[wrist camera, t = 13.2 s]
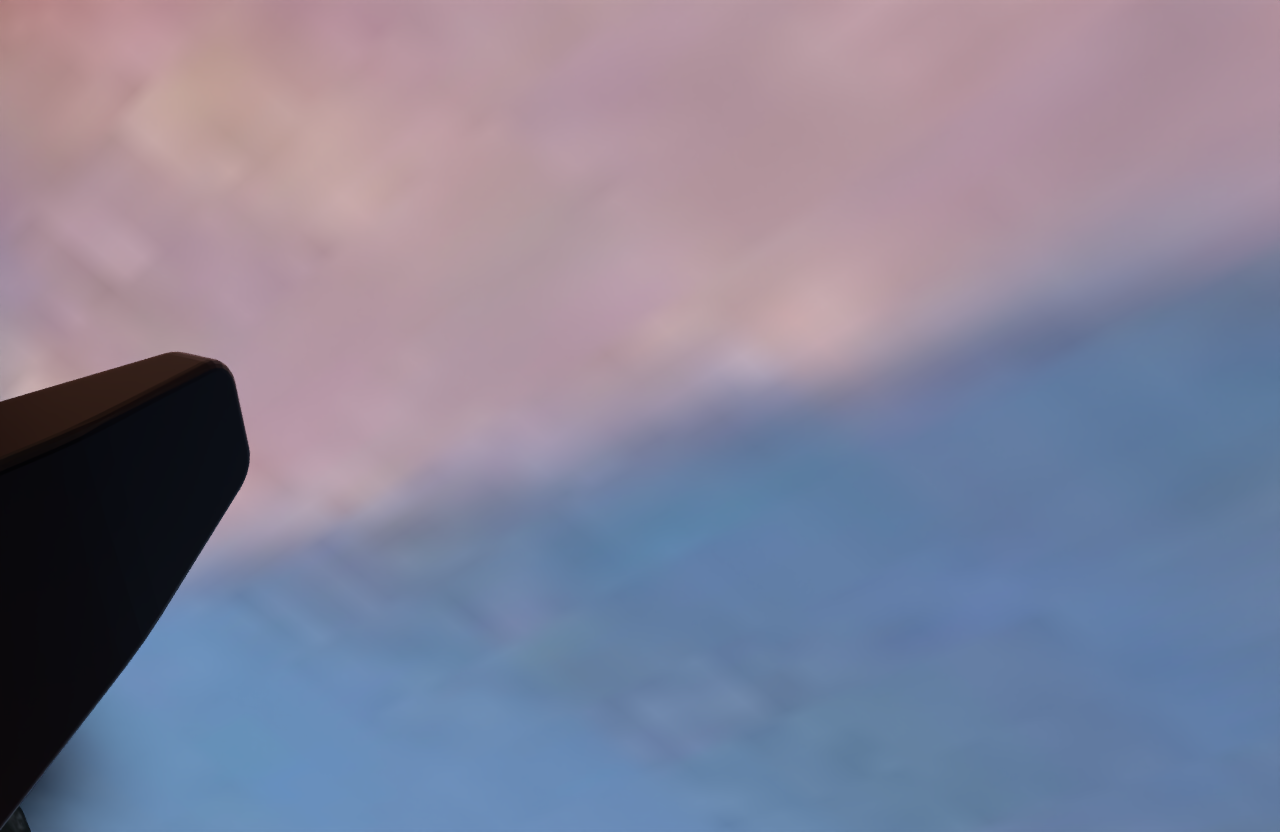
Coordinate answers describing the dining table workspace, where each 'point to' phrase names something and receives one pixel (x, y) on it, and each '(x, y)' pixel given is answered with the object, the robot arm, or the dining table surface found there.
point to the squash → (16, 822)
